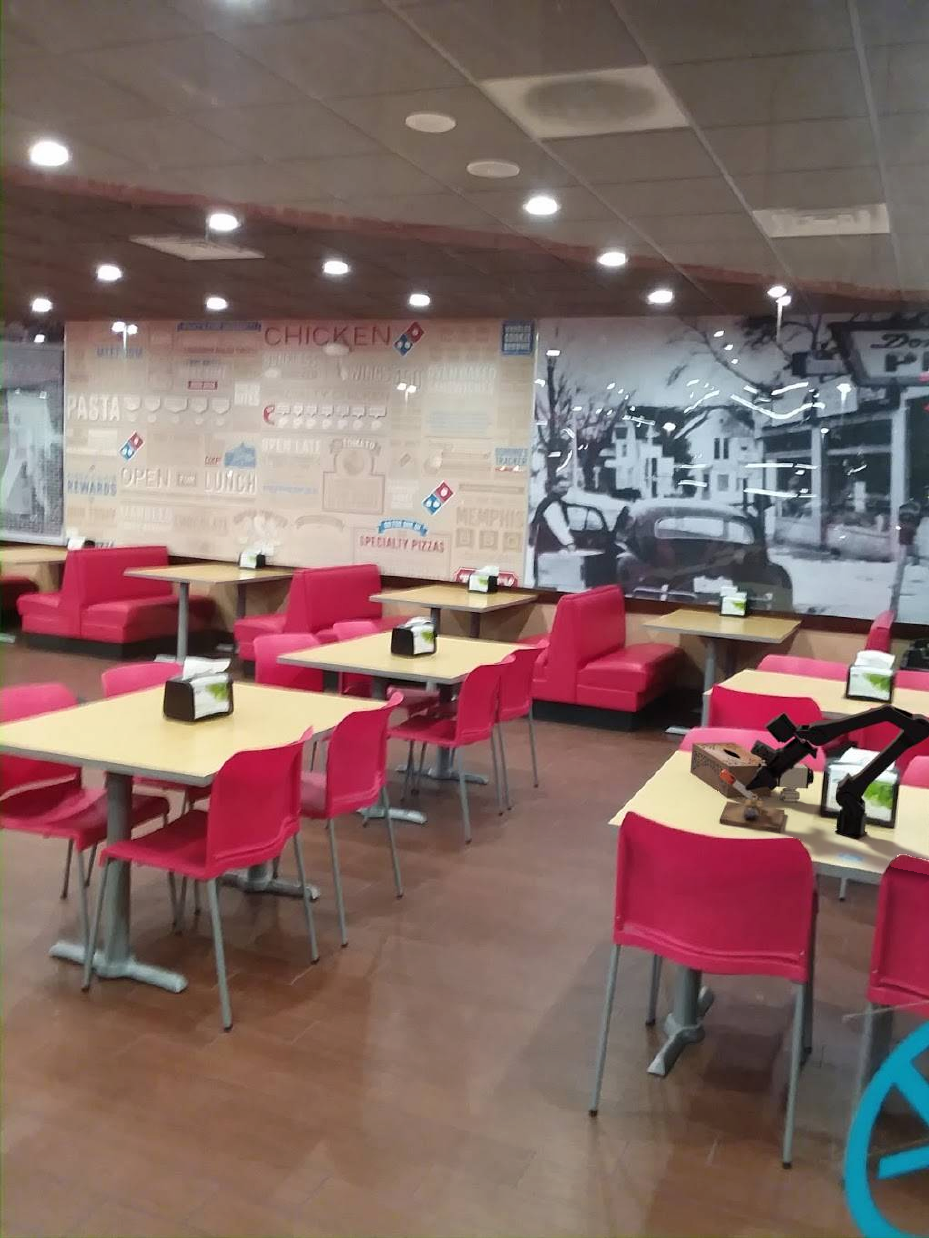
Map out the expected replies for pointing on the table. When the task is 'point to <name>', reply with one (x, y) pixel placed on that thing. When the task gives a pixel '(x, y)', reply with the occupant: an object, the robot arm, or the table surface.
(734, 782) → the lever
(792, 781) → the pneumatic valve
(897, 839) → the table surface
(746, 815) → the valve body
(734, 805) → the mounting board
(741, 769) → the tissue box cover
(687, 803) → the table surface
